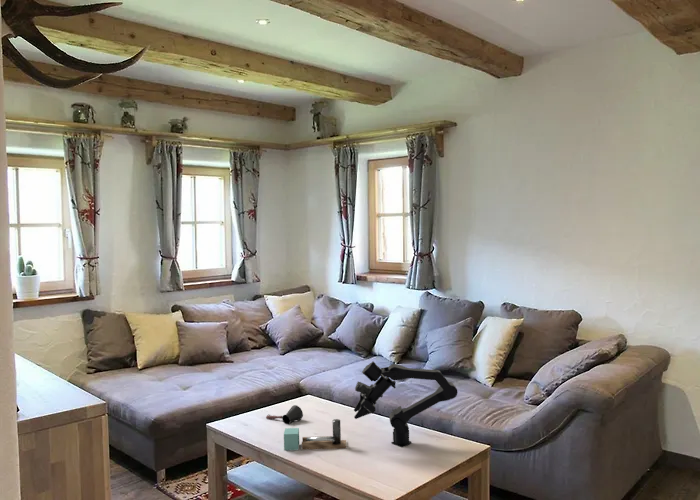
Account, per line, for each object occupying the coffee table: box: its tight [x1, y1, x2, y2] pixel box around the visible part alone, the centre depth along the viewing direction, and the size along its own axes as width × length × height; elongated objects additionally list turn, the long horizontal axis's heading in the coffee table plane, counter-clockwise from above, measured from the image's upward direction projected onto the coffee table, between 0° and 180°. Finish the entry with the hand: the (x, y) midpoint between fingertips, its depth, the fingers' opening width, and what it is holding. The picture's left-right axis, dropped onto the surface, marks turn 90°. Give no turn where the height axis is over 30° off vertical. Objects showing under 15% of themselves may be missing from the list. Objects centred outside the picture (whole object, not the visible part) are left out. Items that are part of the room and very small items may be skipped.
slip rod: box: [306, 418, 342, 444], centre depth 249 cm, size 15×3×10 cm, turn 91°
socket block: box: [283, 427, 300, 451], centre depth 249 cm, size 6×7×7 cm
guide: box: [301, 435, 347, 451], centre depth 250 cm, size 19×7×3 cm, turn 91°
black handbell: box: [265, 405, 304, 425], centre depth 284 cm, size 8×18×8 cm
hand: (354, 414), depth 250 cm, fingers open, 9 cm apart
